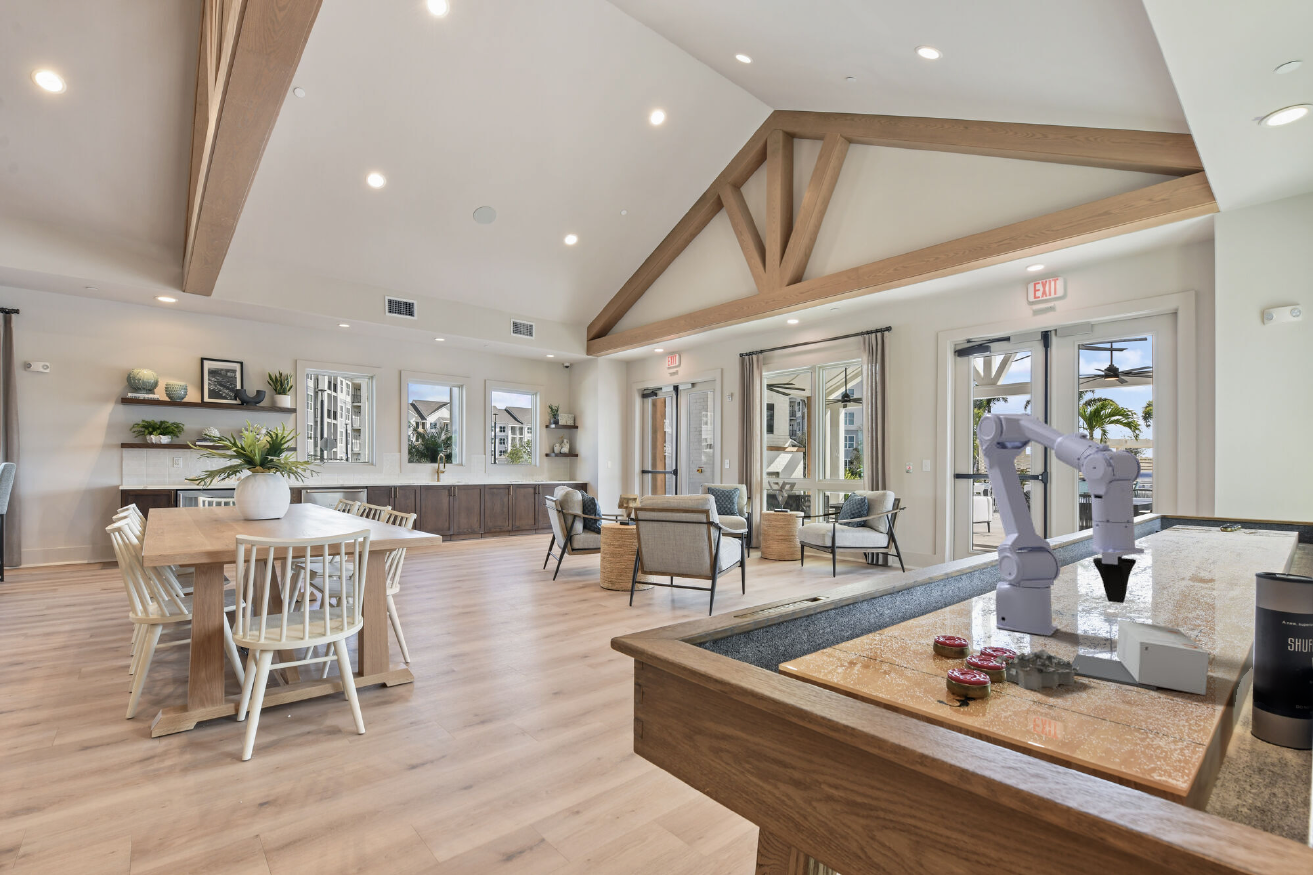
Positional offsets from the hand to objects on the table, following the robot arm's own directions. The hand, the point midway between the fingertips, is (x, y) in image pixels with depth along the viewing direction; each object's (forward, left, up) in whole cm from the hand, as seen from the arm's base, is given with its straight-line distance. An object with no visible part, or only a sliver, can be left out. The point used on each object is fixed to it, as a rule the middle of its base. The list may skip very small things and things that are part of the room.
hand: (1116, 601), depth 104 cm
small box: (+4, 0, -6) cm, 7 cm away
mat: (0, -8, -10) cm, 13 cm away
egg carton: (-9, -20, -10) cm, 24 cm away
